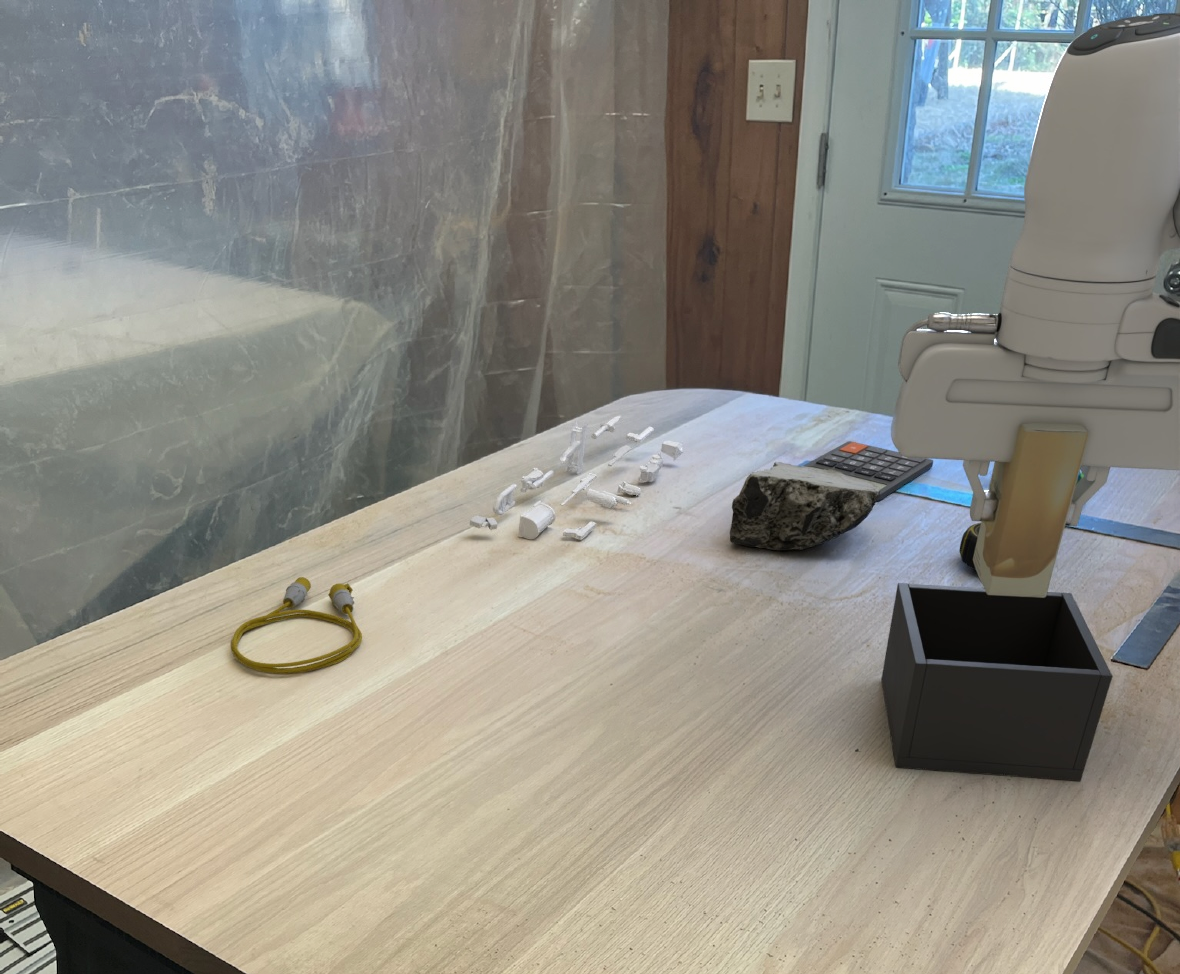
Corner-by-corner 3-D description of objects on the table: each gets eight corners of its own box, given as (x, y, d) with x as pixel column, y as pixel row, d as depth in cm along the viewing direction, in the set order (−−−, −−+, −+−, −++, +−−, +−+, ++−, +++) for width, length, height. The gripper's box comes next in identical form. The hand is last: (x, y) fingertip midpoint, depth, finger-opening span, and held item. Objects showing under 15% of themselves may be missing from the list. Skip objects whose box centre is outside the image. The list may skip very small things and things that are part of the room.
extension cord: (411, 614, 108) (409, 594, 107) (305, 689, 96) (302, 668, 95) (307, 588, 112) (304, 569, 111) (194, 657, 101) (189, 636, 100)
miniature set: (607, 434, 148) (693, 463, 145) (467, 547, 123) (568, 585, 120) (613, 386, 144) (702, 415, 141) (470, 493, 119) (574, 530, 116)
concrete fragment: (743, 479, 131) (864, 415, 123) (780, 564, 132) (903, 506, 124) (697, 489, 118) (828, 419, 110) (738, 582, 119) (871, 519, 111)
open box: (1045, 690, 97) (1071, 592, 92) (1080, 781, 86) (1113, 676, 81) (881, 679, 98) (897, 582, 93) (895, 767, 87) (915, 663, 82)
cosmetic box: (970, 561, 87) (1004, 398, 80) (1028, 563, 87) (1067, 400, 80) (986, 598, 82) (1024, 427, 75) (1048, 600, 82) (1092, 429, 75)
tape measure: (1018, 587, 114) (1026, 551, 111) (949, 572, 116) (956, 537, 114) (1032, 562, 118) (1040, 527, 116) (965, 548, 121) (972, 514, 119)
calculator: (934, 458, 141) (879, 493, 131) (933, 466, 141) (878, 501, 132) (849, 439, 147) (790, 471, 137) (848, 446, 147) (789, 478, 138)
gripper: (911, 323, 73) (878, 530, 81) (1250, 335, 71) (1182, 546, 78) (901, 300, 78) (871, 497, 86) (1217, 311, 76) (1157, 512, 84)
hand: (1022, 521), depth 82 cm, fingers closed on cosmetic box, 4 cm apart
